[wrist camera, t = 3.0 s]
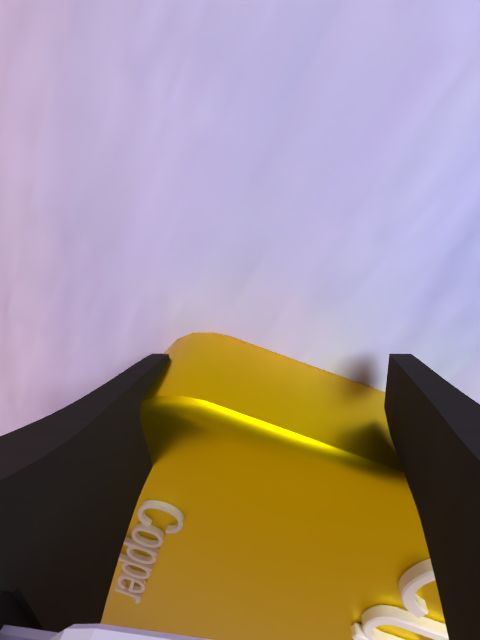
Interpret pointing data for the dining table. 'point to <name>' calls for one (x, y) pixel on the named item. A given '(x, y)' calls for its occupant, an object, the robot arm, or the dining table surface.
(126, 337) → the dining table surface
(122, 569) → the element tile
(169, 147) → the dining table surface
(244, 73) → the dining table surface
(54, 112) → the dining table surface
